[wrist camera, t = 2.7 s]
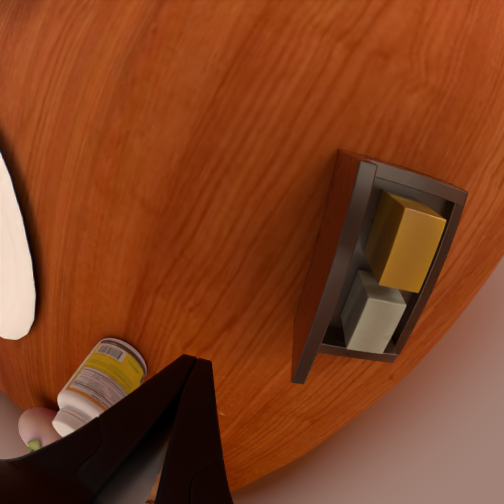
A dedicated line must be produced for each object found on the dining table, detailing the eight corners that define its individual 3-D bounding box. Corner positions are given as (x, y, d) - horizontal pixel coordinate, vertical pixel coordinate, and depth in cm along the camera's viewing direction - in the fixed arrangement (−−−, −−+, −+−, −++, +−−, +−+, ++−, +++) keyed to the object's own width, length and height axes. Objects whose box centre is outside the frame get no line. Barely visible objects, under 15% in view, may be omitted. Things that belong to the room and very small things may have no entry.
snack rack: (453, 185, 16) (506, 212, 10) (393, 337, 21) (412, 396, 15) (338, 148, 16) (359, 159, 11) (293, 320, 21) (290, 382, 16)
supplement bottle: (123, 381, 27) (79, 455, 18) (89, 341, 26) (33, 413, 16) (160, 373, 26) (117, 461, 16) (124, 328, 24) (62, 414, 15)
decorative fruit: (34, 383, 33) (1, 426, 24) (77, 414, 34) (47, 462, 25) (39, 408, 37) (13, 446, 28) (77, 434, 38) (53, 475, 29)
